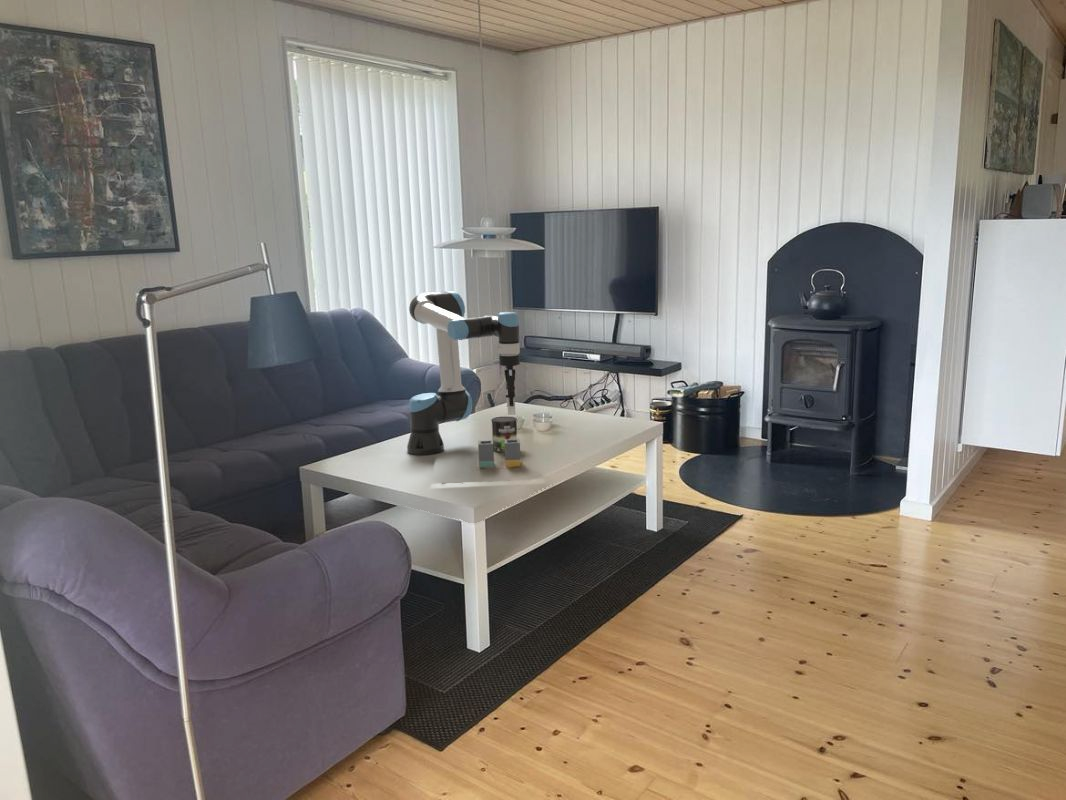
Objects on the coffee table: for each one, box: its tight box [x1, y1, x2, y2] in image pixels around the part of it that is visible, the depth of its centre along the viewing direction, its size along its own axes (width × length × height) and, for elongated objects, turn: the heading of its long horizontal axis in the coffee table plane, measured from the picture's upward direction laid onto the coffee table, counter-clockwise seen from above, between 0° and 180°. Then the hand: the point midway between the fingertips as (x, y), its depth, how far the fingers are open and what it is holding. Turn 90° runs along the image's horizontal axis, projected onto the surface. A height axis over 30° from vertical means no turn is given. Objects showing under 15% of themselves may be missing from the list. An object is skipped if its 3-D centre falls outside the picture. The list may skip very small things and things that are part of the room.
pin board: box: [475, 459, 525, 471], centre depth 308 cm, size 18×10×8 cm, turn 93°
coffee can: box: [490, 416, 518, 453], centre depth 331 cm, size 10×10×14 cm
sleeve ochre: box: [504, 438, 521, 467], centre depth 308 cm, size 6×6×9 cm
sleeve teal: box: [477, 439, 495, 468], centre depth 308 cm, size 6×6×9 cm
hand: (511, 410), depth 305 cm, fingers open, 13 cm apart
